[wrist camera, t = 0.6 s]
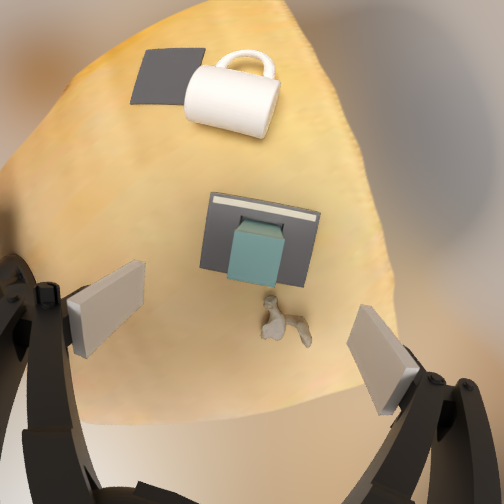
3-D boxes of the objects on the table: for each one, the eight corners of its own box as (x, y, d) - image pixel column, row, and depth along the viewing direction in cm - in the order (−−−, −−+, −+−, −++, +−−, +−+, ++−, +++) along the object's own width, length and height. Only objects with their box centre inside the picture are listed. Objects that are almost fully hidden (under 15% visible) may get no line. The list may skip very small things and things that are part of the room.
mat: (130, 104, 34) (129, 103, 33) (147, 50, 32) (146, 49, 31) (190, 105, 34) (189, 104, 33) (205, 49, 31) (205, 48, 31)
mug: (263, 144, 35) (262, 131, 27) (194, 126, 34) (177, 112, 27) (287, 71, 32) (292, 45, 24) (221, 56, 32) (211, 30, 24)
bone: (234, 317, 38) (262, 327, 29) (262, 284, 41) (296, 284, 31) (274, 351, 40) (309, 367, 31) (298, 319, 42) (337, 327, 33)
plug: (239, 250, 37) (226, 278, 26) (245, 217, 36) (234, 230, 24) (272, 257, 37) (274, 287, 25) (279, 224, 36) (284, 240, 24)
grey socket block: (204, 262, 38) (199, 268, 35) (215, 192, 36) (210, 192, 33) (300, 280, 38) (303, 288, 35) (316, 211, 36) (320, 213, 33)
